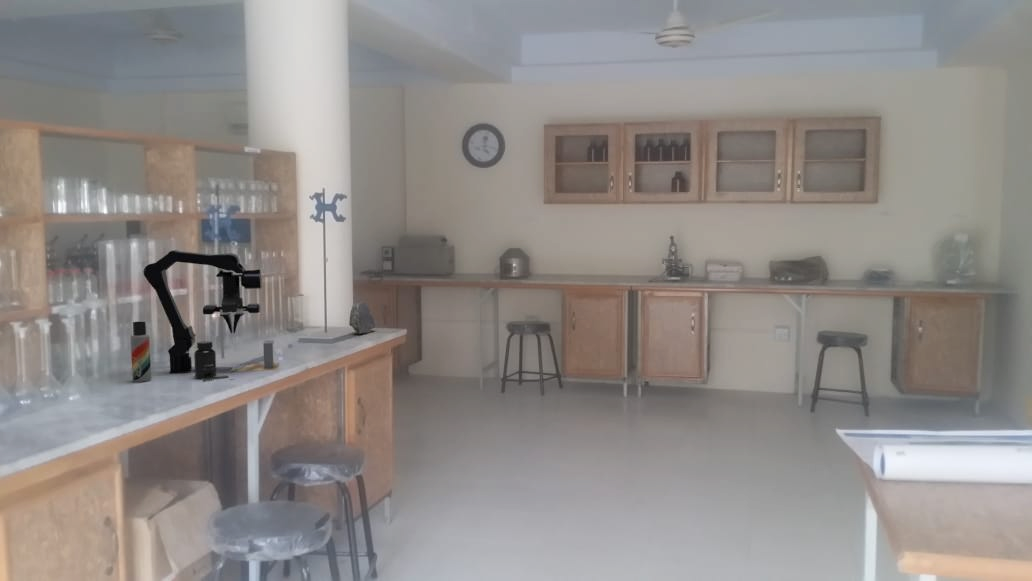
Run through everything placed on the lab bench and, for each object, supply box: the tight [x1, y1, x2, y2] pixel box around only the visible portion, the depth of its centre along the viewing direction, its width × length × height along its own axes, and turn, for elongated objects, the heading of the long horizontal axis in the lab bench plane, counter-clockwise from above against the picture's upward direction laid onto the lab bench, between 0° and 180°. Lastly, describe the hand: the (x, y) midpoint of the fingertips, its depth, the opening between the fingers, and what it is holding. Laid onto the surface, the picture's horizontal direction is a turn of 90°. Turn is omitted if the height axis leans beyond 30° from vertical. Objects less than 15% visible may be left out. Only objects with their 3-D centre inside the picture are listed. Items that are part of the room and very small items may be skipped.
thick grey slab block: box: [262, 339, 276, 369], centre depth 295 cm, size 3×7×9 cm, turn 12°
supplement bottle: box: [193, 340, 217, 380], centre depth 279 cm, size 7×7×12 cm
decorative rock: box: [348, 300, 376, 334], centre depth 374 cm, size 16×7×15 cm, turn 157°
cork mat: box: [229, 362, 280, 373], centre depth 294 cm, size 16×12×1 cm
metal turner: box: [202, 375, 235, 383], centre depth 277 cm, size 15×6×1 cm, turn 123°
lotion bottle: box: [130, 321, 152, 383], centre depth 273 cm, size 6×6×20 cm
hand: (232, 333), depth 291 cm, fingers closed
